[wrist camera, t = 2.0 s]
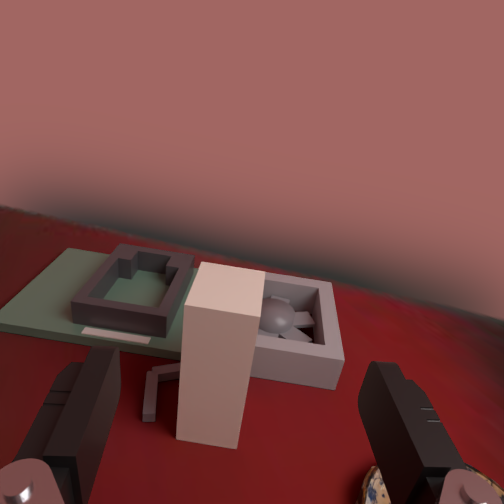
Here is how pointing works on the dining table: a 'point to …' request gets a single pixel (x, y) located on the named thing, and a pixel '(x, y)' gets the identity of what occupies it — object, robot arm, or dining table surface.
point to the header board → (108, 300)
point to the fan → (283, 339)
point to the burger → (375, 494)
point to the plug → (217, 353)
